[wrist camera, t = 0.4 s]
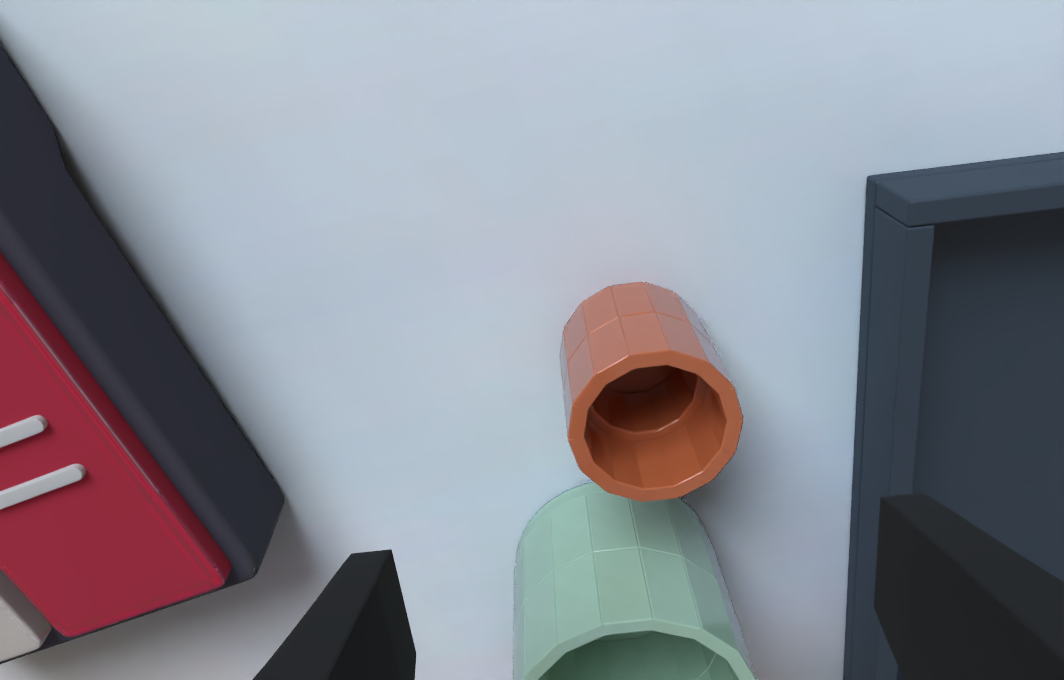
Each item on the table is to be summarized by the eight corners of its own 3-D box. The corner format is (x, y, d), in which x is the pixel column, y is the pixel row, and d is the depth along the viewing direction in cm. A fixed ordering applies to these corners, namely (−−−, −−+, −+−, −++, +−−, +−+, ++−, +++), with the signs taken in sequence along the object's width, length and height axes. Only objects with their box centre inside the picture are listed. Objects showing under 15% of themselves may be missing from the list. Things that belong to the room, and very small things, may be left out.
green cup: (712, 624, 25) (760, 787, 20) (528, 642, 25) (530, 808, 20) (706, 467, 23) (759, 608, 18) (503, 490, 23) (498, 634, 18)
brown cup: (702, 393, 22) (744, 491, 18) (566, 409, 22) (576, 510, 18) (697, 266, 20) (742, 341, 16) (551, 284, 20) (557, 362, 16)
